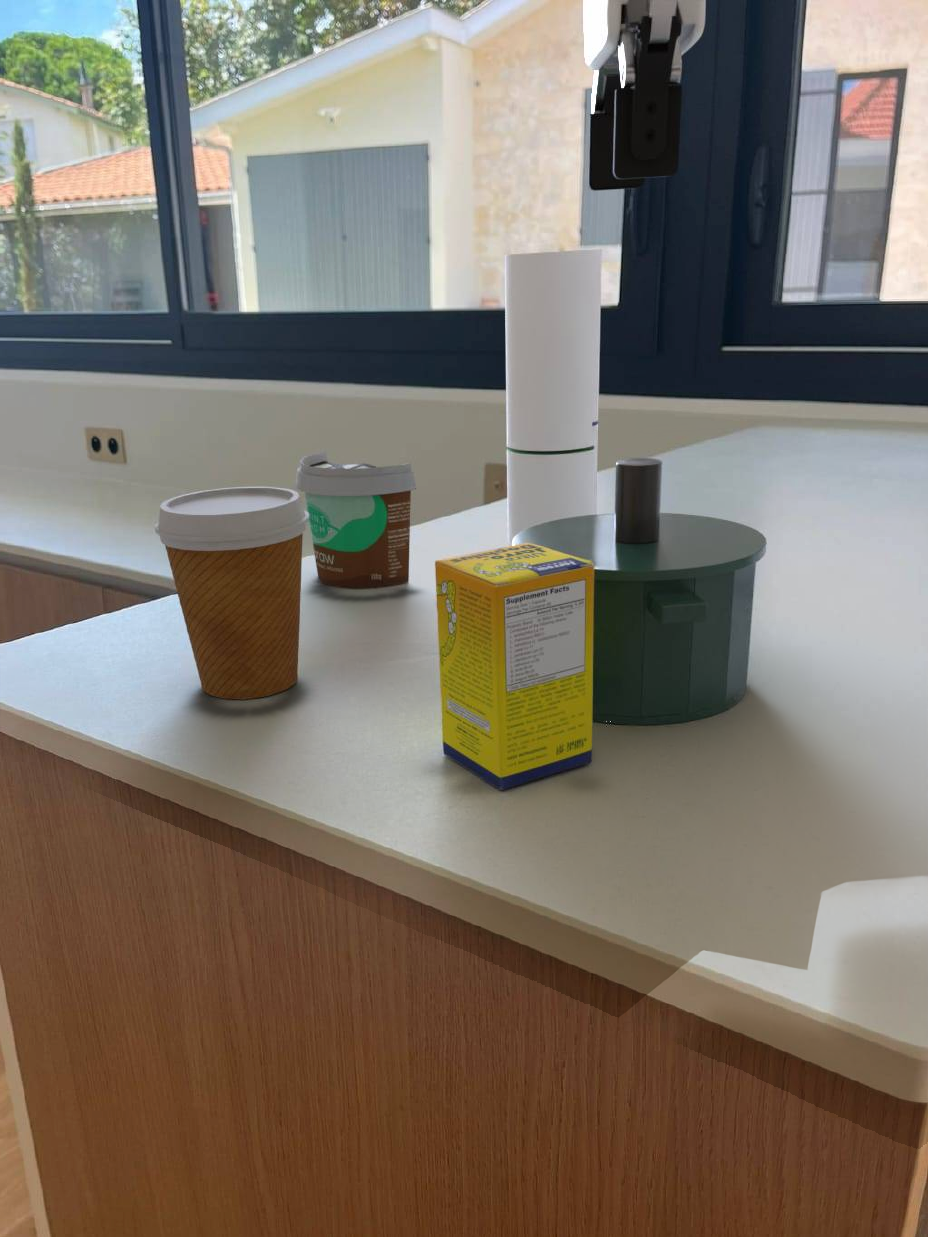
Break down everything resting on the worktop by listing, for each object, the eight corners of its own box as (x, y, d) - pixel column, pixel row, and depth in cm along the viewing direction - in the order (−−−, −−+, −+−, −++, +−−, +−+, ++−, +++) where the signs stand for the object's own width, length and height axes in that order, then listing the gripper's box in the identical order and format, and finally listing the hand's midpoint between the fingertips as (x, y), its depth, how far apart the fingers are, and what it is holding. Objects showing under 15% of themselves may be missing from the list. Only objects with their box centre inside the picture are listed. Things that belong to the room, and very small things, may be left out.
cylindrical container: (604, 570, 94) (612, 248, 84) (581, 593, 88) (587, 249, 78) (523, 565, 96) (522, 253, 87) (496, 587, 90) (491, 255, 81)
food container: (275, 575, 98) (264, 461, 94) (330, 561, 101) (322, 450, 97) (363, 601, 89) (355, 475, 85) (420, 584, 92) (415, 463, 89)
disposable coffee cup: (352, 677, 72) (339, 494, 68) (236, 721, 66) (213, 523, 62) (261, 649, 79) (244, 479, 74) (148, 687, 73) (121, 505, 68)
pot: (691, 629, 78) (697, 508, 75) (801, 734, 60) (816, 582, 57) (499, 642, 77) (497, 522, 74) (554, 752, 60) (554, 601, 57)
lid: (715, 524, 73) (720, 435, 71) (806, 582, 59) (817, 475, 57) (495, 539, 72) (493, 450, 70) (537, 601, 59) (537, 493, 57)
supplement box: (528, 728, 63) (527, 539, 59) (594, 765, 58) (598, 561, 54) (438, 753, 61) (431, 557, 56) (500, 793, 56) (496, 582, 51)
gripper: (768, -292, 46) (738, 167, 53) (682, -150, 62) (667, 189, 69) (586, -277, 47) (579, 176, 53) (547, -140, 62) (545, 196, 69)
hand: (629, 183), depth 61 cm, fingers open, 9 cm apart
